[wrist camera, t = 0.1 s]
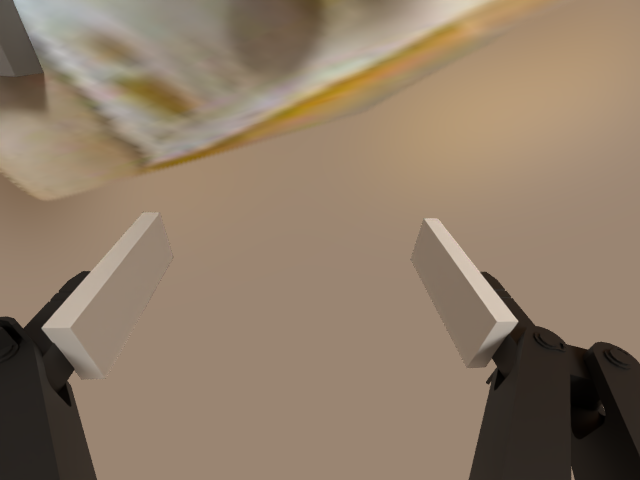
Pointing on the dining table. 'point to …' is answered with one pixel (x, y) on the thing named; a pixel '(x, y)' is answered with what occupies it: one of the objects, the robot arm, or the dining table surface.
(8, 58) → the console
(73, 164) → the dining table surface
